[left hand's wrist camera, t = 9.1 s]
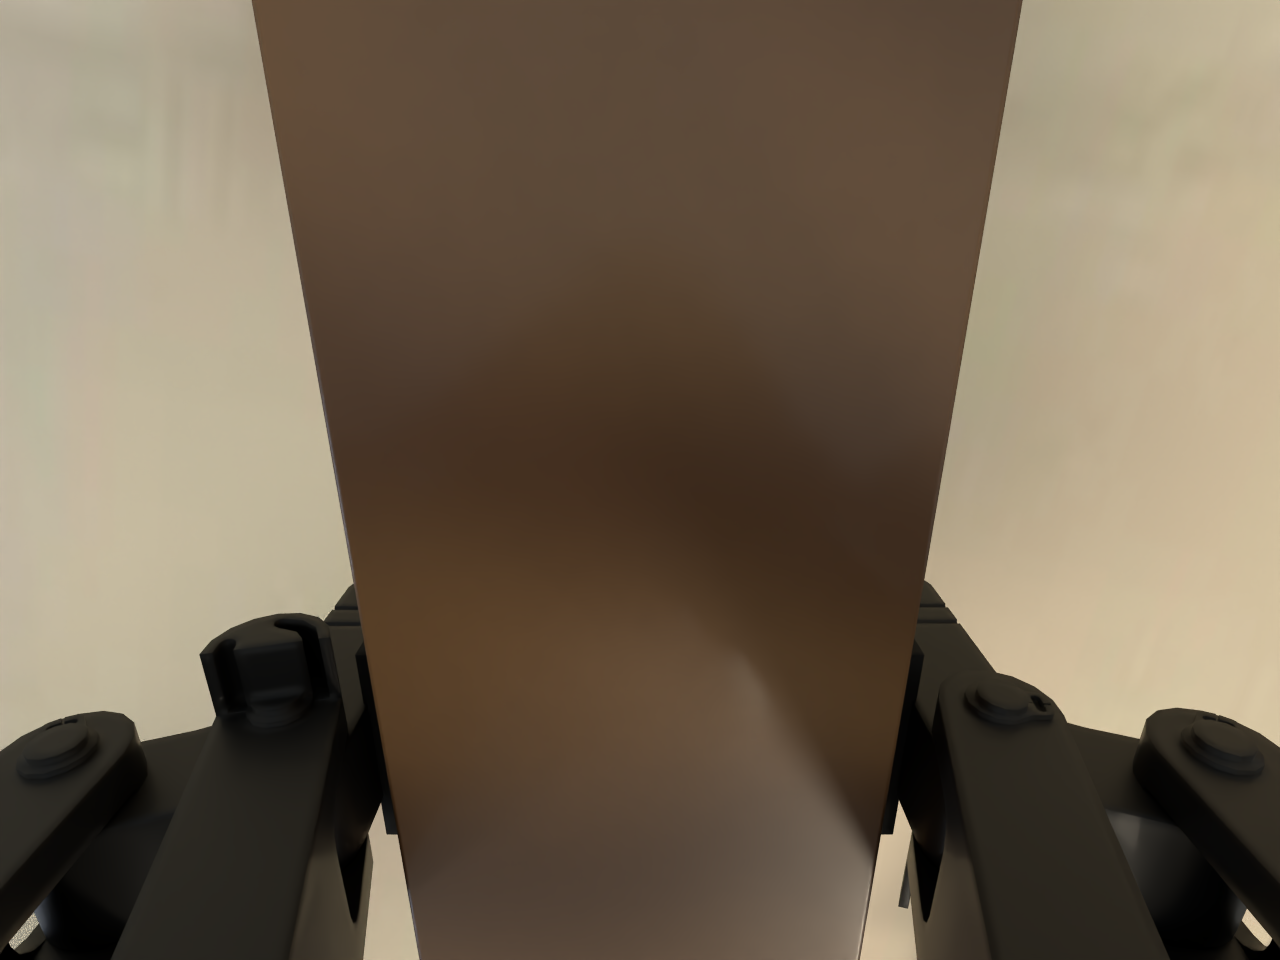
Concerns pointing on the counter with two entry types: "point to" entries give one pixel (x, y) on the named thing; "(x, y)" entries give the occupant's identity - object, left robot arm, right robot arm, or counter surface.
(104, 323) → the counter surface
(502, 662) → the beam
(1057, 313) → the counter surface
